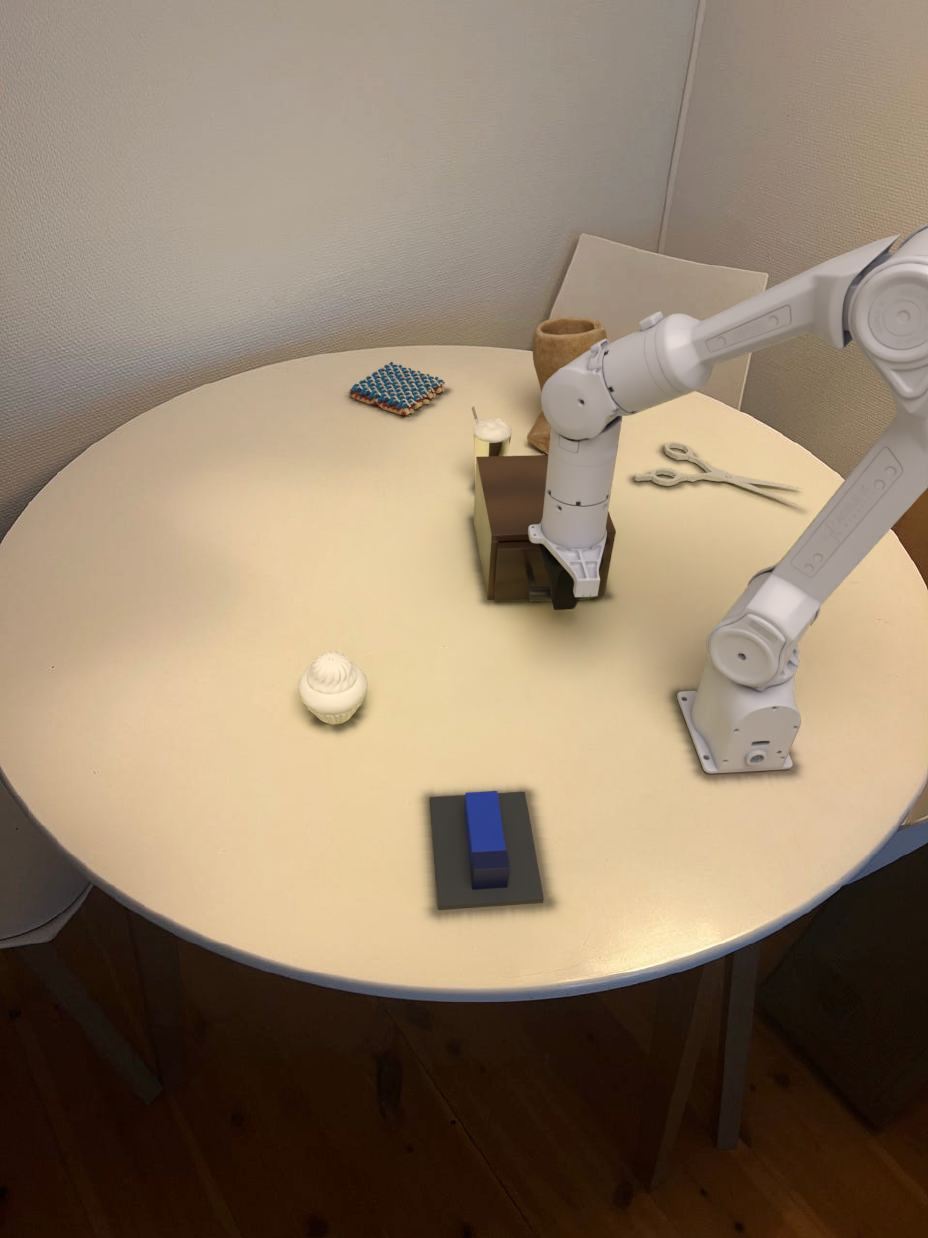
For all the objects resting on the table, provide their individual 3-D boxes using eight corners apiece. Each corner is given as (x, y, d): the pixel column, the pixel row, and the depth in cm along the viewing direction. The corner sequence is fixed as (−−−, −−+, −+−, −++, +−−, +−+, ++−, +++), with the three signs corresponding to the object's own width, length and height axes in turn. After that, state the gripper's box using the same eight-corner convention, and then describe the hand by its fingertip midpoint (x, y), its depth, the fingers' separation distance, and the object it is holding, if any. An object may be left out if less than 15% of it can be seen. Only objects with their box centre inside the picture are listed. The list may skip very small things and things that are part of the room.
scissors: (657, 436, 118) (810, 474, 112) (656, 442, 118) (809, 479, 112) (634, 475, 110) (797, 517, 104) (633, 481, 111) (795, 523, 105)
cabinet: (604, 596, 94) (616, 531, 88) (487, 600, 93) (491, 535, 87) (578, 516, 105) (587, 453, 99) (473, 519, 104) (476, 456, 98)
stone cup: (542, 401, 126) (552, 297, 116) (623, 420, 122) (640, 314, 112) (502, 451, 115) (510, 342, 105) (589, 473, 112) (606, 362, 102)
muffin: (372, 689, 83) (370, 635, 78) (364, 739, 79) (361, 685, 74) (307, 686, 83) (300, 631, 78) (295, 735, 79) (287, 681, 74)
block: (496, 809, 73) (498, 789, 71) (507, 887, 67) (509, 868, 66) (463, 811, 72) (464, 791, 71) (472, 890, 67) (473, 870, 65)
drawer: (612, 627, 89) (622, 575, 85) (500, 632, 88) (504, 579, 84) (578, 521, 103) (585, 472, 98) (480, 524, 102) (483, 474, 97)
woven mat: (448, 390, 127) (449, 377, 126) (406, 420, 120) (406, 407, 119) (390, 371, 131) (389, 358, 130) (345, 399, 124) (345, 386, 123)
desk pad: (543, 902, 67) (543, 898, 67) (438, 910, 66) (438, 906, 66) (524, 795, 75) (524, 791, 74) (429, 801, 74) (429, 796, 73)
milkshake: (480, 471, 112) (484, 399, 105) (514, 487, 109) (520, 415, 102) (458, 486, 109) (460, 413, 102) (492, 503, 106) (496, 429, 100)
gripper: (521, 446, 82) (512, 562, 91) (546, 539, 71) (533, 660, 80) (595, 444, 82) (580, 559, 91) (631, 536, 72) (610, 656, 81)
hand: (563, 606), depth 86 cm, fingers closed
